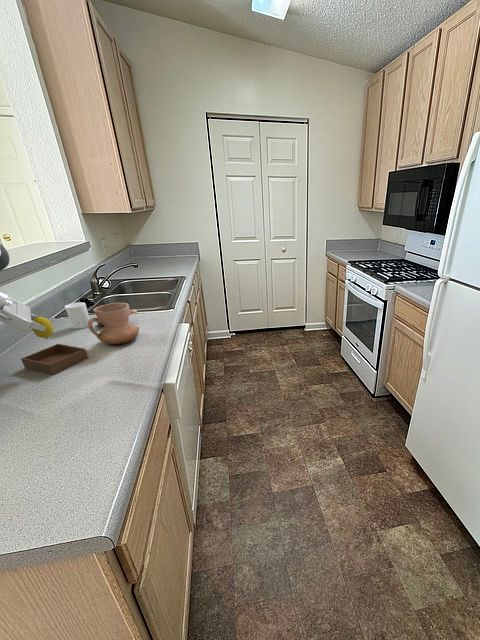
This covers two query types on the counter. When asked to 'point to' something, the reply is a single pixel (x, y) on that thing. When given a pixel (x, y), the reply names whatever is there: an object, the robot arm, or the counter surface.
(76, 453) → the counter surface
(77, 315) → the white cup
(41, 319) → the lemon
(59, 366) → the tray
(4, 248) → the robot arm
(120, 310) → the ceramic jug
